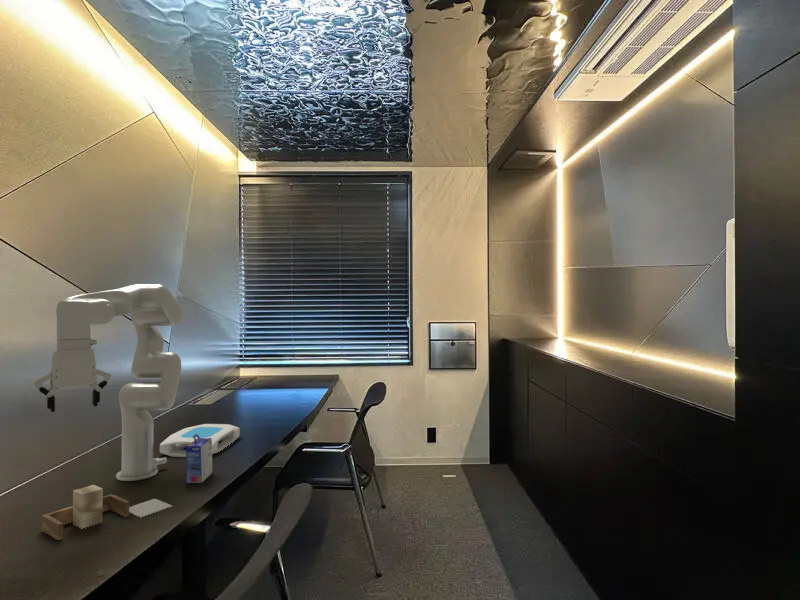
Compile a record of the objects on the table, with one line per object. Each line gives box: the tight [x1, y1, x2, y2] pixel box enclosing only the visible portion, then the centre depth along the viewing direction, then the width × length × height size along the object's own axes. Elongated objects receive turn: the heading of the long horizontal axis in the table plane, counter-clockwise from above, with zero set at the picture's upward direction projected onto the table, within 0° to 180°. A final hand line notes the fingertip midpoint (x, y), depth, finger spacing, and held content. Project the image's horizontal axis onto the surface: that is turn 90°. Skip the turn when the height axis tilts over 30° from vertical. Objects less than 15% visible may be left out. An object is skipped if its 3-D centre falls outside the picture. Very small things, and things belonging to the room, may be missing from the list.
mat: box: [129, 498, 173, 519], centre depth 137 cm, size 9×9×1 cm
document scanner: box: [159, 423, 241, 458], centre depth 198 cm, size 21×28×6 cm
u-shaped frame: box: [41, 493, 130, 541], centre depth 127 cm, size 17×10×4 cm, turn 147°
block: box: [72, 484, 104, 530], centre depth 127 cm, size 5×5×9 cm
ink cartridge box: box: [185, 434, 213, 484], centre depth 161 cm, size 10×6×14 cm, turn 2°
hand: (74, 408), depth 130 cm, fingers open, 9 cm apart
